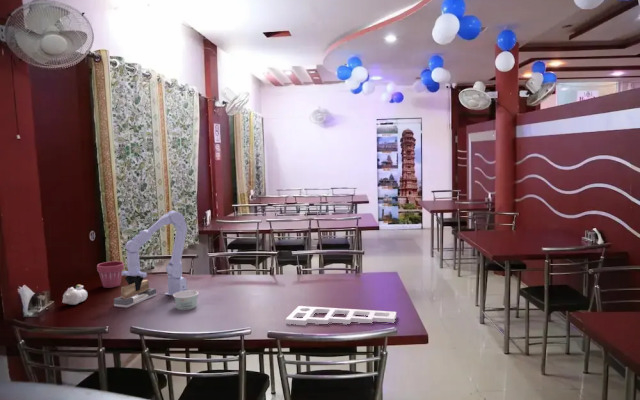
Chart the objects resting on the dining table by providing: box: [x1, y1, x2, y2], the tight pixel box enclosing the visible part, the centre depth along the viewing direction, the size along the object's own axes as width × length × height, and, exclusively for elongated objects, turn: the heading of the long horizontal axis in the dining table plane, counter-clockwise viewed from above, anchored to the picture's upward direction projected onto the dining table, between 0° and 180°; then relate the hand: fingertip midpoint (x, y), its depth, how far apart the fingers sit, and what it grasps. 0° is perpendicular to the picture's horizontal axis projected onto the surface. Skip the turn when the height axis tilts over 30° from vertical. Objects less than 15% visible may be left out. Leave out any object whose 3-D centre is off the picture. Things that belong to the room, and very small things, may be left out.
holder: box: [285, 305, 397, 326], centre depth 203 cm, size 45×18×3 cm, turn 75°
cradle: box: [113, 287, 157, 308], centre depth 240 cm, size 8×21×4 cm, turn 159°
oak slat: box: [120, 279, 150, 299], centre depth 240 cm, size 3×16×5 cm, turn 159°
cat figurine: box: [61, 284, 88, 306], centre depth 238 cm, size 10×8×15 cm
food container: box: [172, 289, 200, 311], centre depth 227 cm, size 12×12×7 cm
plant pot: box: [96, 260, 125, 289], centre depth 270 cm, size 14×14×13 cm
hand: (135, 290), depth 240 cm, fingers closed on oak slat, 3 cm apart
